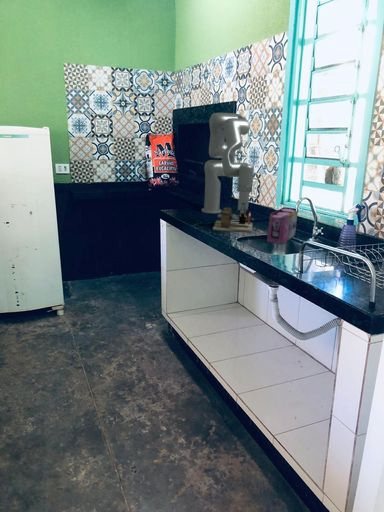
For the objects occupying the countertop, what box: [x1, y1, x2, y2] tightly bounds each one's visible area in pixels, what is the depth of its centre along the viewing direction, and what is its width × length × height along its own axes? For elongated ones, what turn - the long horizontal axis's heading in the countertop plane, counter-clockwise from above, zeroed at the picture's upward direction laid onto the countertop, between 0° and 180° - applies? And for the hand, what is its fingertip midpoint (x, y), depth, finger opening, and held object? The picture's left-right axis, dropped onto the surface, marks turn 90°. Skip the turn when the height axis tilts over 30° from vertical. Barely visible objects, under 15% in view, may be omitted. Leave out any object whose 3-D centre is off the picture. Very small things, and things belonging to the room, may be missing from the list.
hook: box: [217, 211, 255, 224], centre depth 217 cm, size 6×19×6 cm, turn 81°
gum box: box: [266, 206, 299, 245], centre depth 198 cm, size 24×8×14 cm, turn 151°
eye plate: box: [212, 207, 253, 234], centre depth 217 cm, size 18×20×9 cm
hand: (242, 223), depth 217 cm, fingers closed on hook, 2 cm apart
